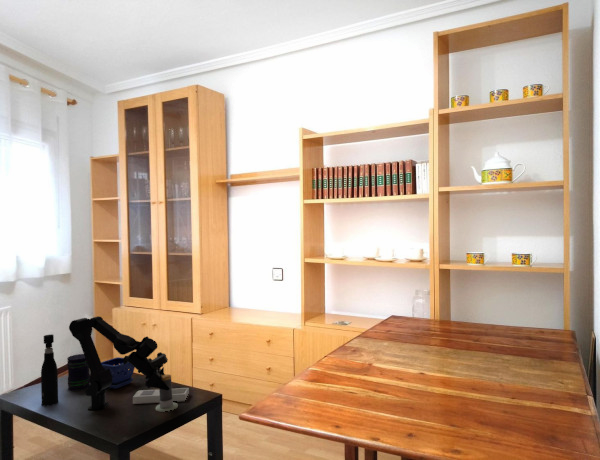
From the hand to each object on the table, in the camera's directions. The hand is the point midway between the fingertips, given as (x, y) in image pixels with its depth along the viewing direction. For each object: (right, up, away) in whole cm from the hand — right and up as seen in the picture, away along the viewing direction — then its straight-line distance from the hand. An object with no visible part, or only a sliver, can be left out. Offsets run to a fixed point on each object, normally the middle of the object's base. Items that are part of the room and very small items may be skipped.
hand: (169, 387), depth 183 cm
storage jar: (-53, -11, +29) cm, 62 cm away
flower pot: (-35, -10, +30) cm, 48 cm away
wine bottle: (-56, -11, +9) cm, 57 cm away
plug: (-1, -8, 0) cm, 8 cm away
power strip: (-7, -9, +10) cm, 15 cm away
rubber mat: (-1, -9, 0) cm, 9 cm away
